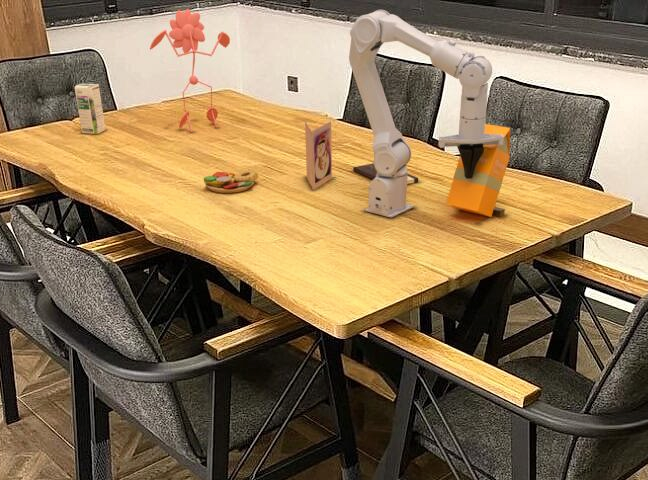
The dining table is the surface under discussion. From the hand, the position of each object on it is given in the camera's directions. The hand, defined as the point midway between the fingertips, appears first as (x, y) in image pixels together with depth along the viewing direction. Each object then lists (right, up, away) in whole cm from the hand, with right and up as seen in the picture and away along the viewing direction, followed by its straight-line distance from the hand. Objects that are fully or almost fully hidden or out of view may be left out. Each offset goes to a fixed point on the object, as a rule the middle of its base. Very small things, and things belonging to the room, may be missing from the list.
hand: (468, 177), depth 192 cm
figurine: (-77, +40, +83) cm, 120 cm away
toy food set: (-58, +5, +28) cm, 65 cm away
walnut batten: (+4, -5, +10) cm, 12 cm away
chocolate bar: (-17, +10, +34) cm, 39 cm away
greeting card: (-37, +7, +30) cm, 48 cm away
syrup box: (-109, +37, +78) cm, 139 cm away
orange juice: (+1, -7, +5) cm, 8 cm away
